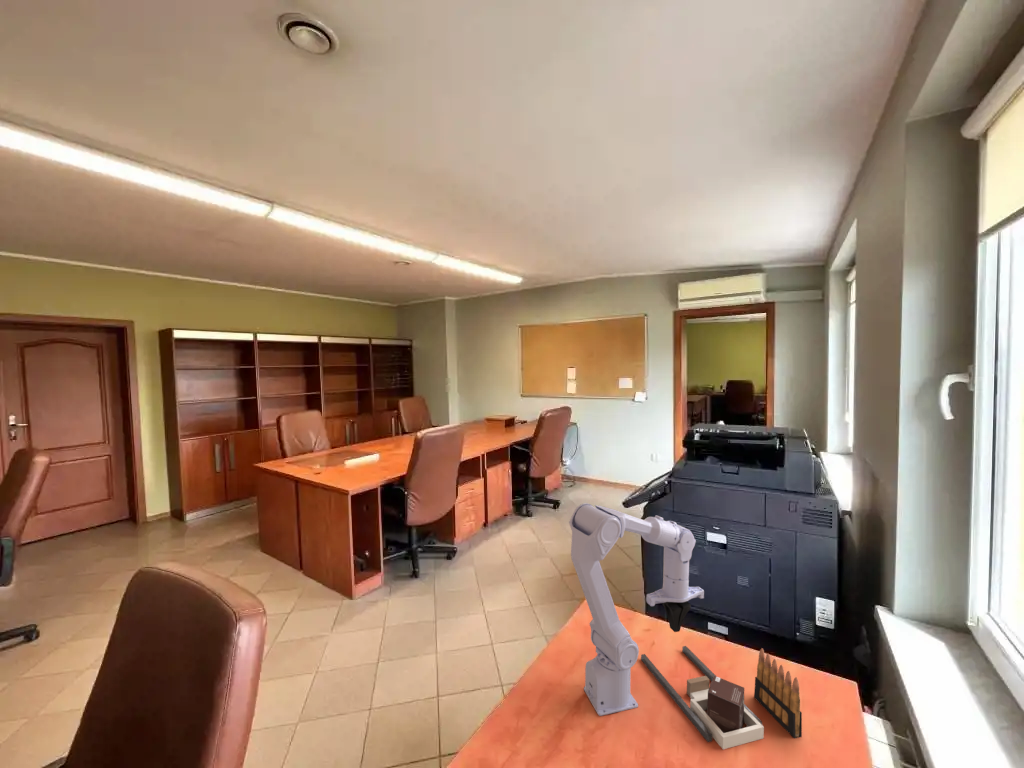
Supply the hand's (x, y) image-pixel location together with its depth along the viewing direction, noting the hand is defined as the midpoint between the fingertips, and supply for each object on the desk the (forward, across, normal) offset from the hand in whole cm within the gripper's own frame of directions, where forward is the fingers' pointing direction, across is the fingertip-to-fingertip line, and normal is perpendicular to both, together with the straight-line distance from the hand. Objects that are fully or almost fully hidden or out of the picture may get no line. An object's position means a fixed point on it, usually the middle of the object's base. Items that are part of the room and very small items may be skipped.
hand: (674, 629), depth 103 cm
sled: (+10, -1, +14) cm, 17 cm away
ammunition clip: (+11, -13, +17) cm, 24 cm away
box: (+10, -1, +16) cm, 19 cm away
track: (+10, -1, +7) cm, 12 cm away
